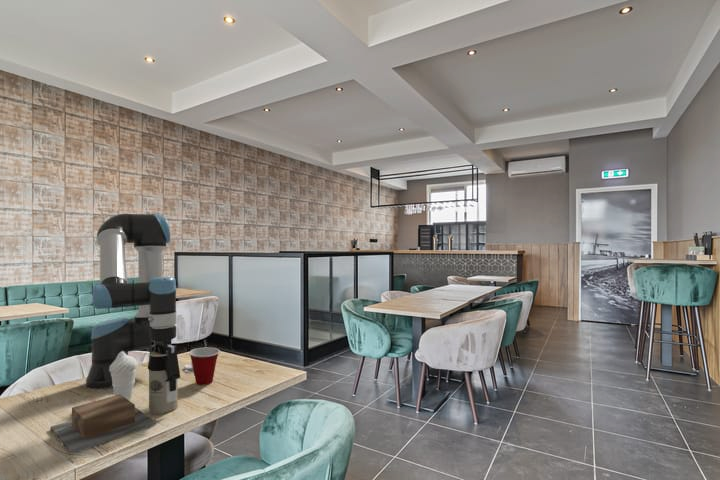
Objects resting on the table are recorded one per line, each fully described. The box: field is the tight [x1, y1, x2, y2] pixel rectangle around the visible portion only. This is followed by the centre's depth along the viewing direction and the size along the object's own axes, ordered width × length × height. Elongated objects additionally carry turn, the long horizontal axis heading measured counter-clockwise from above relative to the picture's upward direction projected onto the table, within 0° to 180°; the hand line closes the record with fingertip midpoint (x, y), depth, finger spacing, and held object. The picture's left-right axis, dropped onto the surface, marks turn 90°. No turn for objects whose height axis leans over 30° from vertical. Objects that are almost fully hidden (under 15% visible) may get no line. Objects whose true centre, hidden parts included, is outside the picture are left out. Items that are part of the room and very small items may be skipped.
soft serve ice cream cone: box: [109, 351, 139, 401], centre depth 128 cm, size 8×8×16 cm
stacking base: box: [49, 394, 157, 455], centre depth 107 cm, size 20×20×6 cm
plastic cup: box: [189, 347, 221, 386], centre depth 142 cm, size 11×11×12 cm
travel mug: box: [148, 351, 179, 415], centre depth 119 cm, size 8×8×18 cm
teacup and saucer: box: [183, 360, 194, 374], centre depth 158 cm, size 9×8×4 cm
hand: (163, 396), depth 119 cm, fingers open, 10 cm apart
